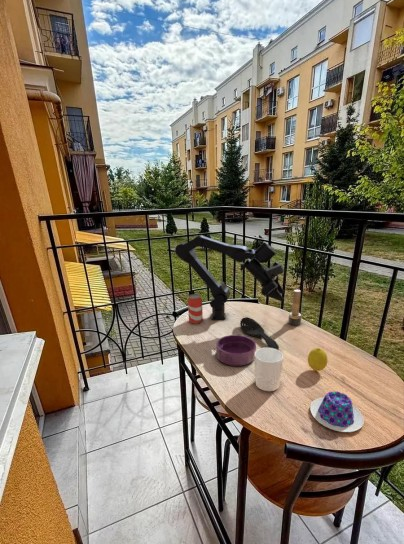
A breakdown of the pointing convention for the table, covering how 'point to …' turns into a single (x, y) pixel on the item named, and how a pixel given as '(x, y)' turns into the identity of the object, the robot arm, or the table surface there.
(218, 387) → the table surface
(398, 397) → the table surface
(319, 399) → the blue patterned hat
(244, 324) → the hairbrush
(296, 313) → the dish brush
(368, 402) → the table surface
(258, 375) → the white cup
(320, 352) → the lemon
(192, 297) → the beverage can
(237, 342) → the bowl
